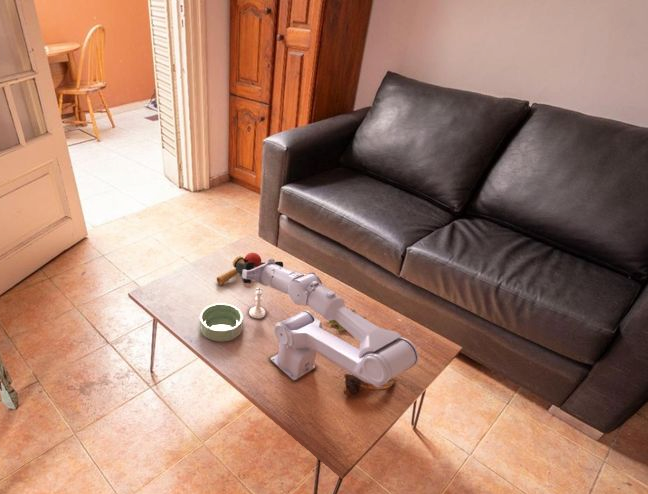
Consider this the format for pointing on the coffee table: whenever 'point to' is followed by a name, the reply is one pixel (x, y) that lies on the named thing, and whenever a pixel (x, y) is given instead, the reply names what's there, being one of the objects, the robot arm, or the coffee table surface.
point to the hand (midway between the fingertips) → (248, 266)
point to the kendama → (225, 277)
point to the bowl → (221, 322)
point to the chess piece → (257, 306)
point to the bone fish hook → (361, 385)
